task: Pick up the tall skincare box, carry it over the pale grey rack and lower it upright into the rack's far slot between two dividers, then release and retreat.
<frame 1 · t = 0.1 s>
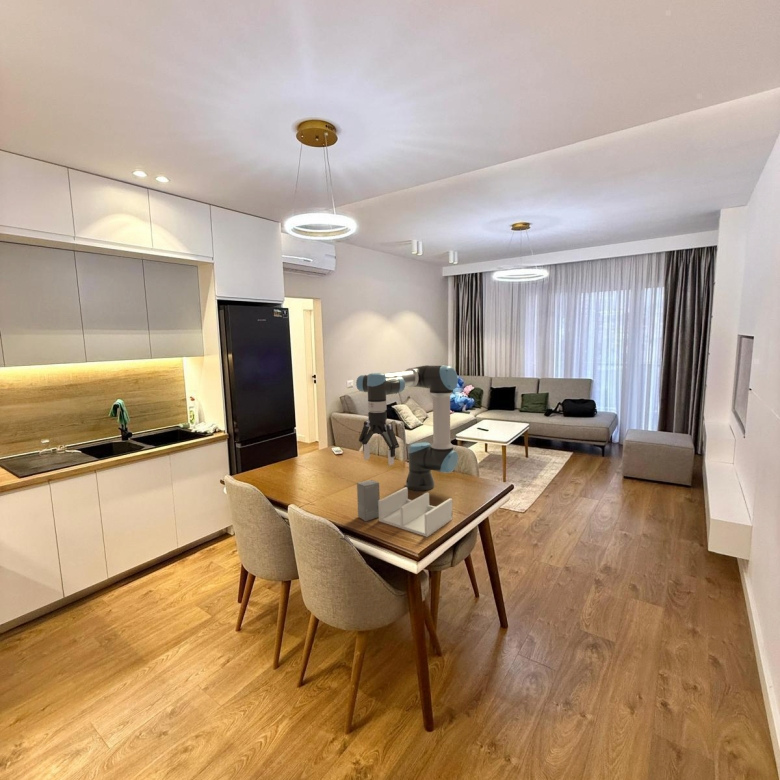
hand: (378, 461, 169), 28 cm above the table, fingers open, 13 cm apart
rack: (415, 520, 177), on the table
skincare box: (369, 517, 182), on the table
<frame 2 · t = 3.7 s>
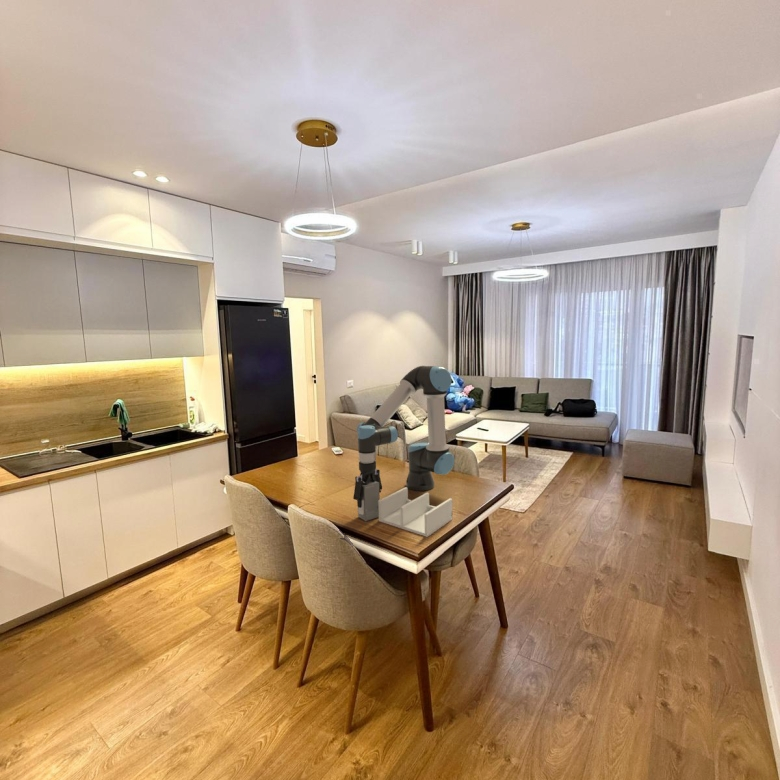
hand: (368, 509, 181), 3 cm above the table, fingers closed on skincare box, 9 cm apart
skincare box: (369, 517, 182), on the table, touching gripper
when the fingers open (6 cm above the table, at t = 12.4 s): skincare box drops 1 cm, resting on rack.
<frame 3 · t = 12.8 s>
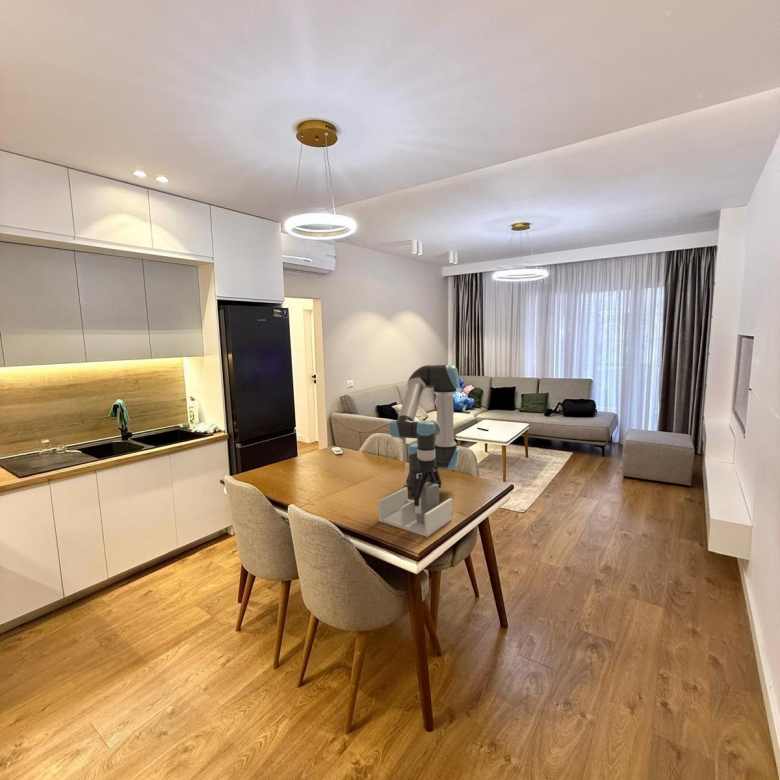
hand: (427, 507, 172), 7 cm above the table, fingers open, 13 cm apart
skincare box: (428, 520, 173), point 1 cm above the table, touching rack
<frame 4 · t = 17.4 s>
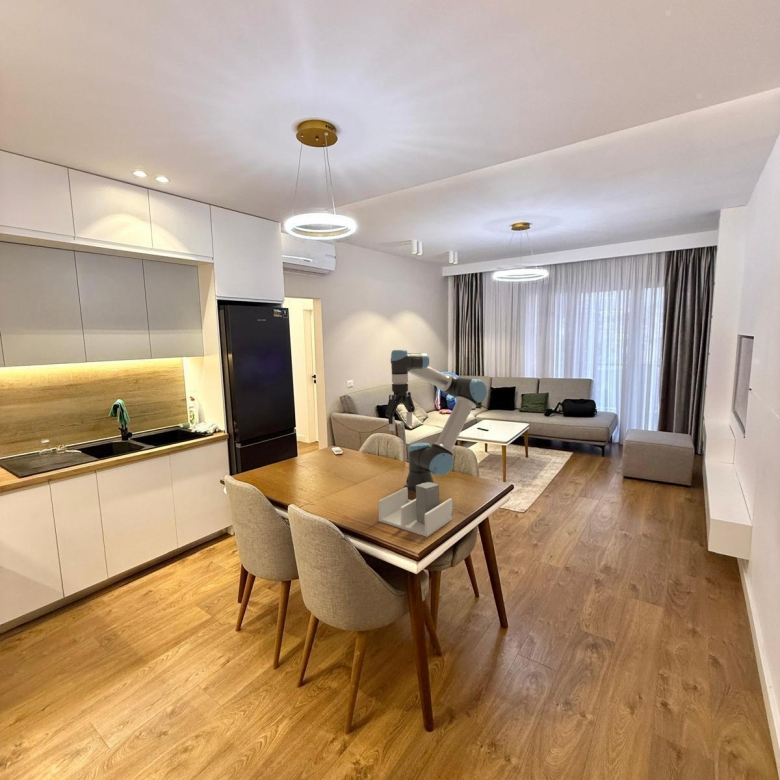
hand: (400, 428, 192), 37 cm above the table, fingers open, 13 cm apart
nothing on the table moved.
at the end: skincare box inside the target area on the rack (0.8 cm from its centre), point 1.0 cm above the rack's base; skincare box tilted 0°; the gripper is holding nothing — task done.
